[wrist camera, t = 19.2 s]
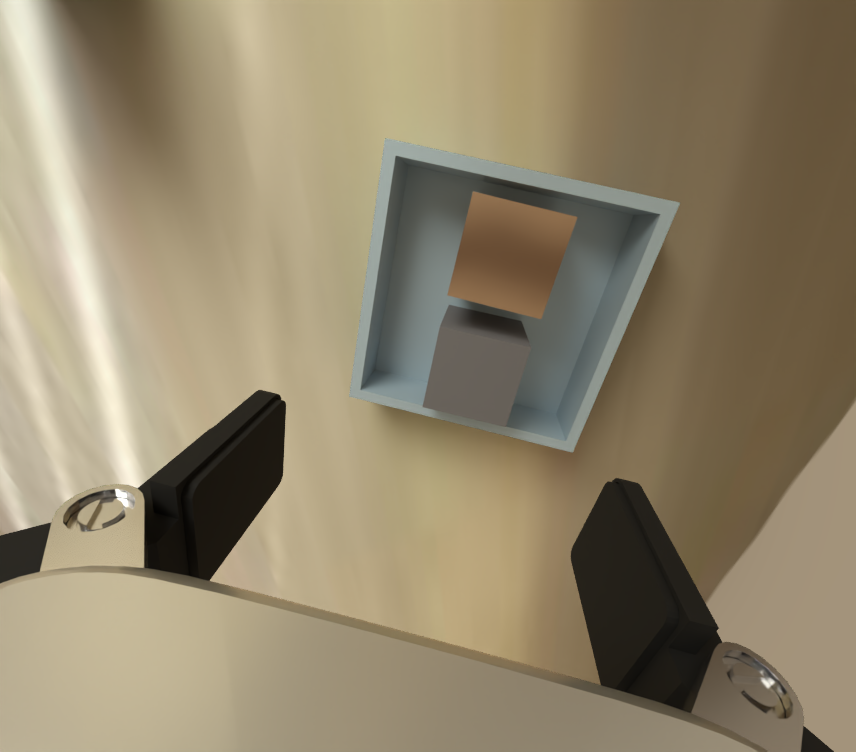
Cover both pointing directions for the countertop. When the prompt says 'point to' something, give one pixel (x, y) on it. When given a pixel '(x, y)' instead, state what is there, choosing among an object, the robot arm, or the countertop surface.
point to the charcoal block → (477, 365)
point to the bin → (549, 336)
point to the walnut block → (510, 254)
